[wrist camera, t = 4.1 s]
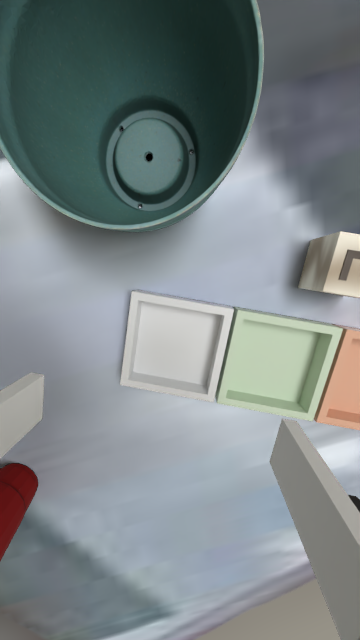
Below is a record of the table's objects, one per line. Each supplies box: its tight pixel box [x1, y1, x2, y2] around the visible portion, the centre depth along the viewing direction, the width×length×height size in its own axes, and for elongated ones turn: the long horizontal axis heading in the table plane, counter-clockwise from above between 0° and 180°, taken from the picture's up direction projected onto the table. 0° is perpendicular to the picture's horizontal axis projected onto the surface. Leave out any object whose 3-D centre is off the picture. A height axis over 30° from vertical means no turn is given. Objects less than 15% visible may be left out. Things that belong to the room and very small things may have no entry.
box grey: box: [120, 290, 234, 402], centre depth 25 cm, size 11×11×2 cm
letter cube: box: [298, 231, 360, 298], centre depth 22 cm, size 5×5×5 cm
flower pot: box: [0, 0, 264, 232], centre depth 18 cm, size 16×16×11 cm
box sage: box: [215, 307, 343, 421], centre depth 25 cm, size 11×11×2 cm
